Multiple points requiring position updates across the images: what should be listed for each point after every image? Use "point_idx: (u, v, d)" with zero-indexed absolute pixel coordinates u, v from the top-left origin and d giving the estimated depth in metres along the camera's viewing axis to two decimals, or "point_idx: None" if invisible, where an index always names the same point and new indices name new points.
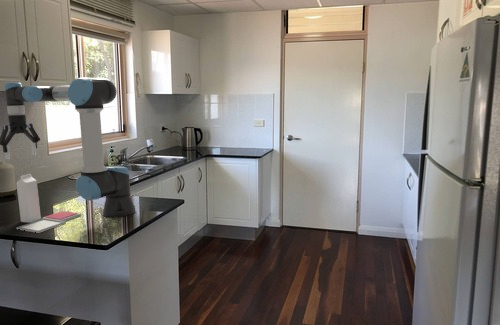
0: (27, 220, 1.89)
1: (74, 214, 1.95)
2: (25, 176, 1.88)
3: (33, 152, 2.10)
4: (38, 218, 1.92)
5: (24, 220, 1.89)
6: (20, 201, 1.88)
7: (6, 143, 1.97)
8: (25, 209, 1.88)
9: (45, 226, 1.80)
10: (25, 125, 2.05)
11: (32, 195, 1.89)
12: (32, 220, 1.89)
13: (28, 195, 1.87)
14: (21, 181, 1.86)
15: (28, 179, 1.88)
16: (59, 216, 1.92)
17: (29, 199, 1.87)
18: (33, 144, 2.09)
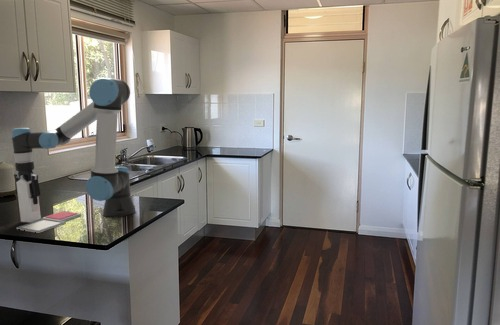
0: (27, 220, 1.89)
1: (74, 214, 1.95)
2: None
3: None
4: (38, 218, 1.92)
5: (24, 220, 1.89)
6: (20, 201, 1.88)
7: None
8: (25, 209, 1.88)
9: (45, 226, 1.80)
10: (28, 174, 1.86)
11: None
12: (32, 220, 1.89)
13: (28, 195, 1.87)
14: (21, 181, 1.86)
15: None
16: (59, 216, 1.92)
17: (29, 199, 1.87)
18: None
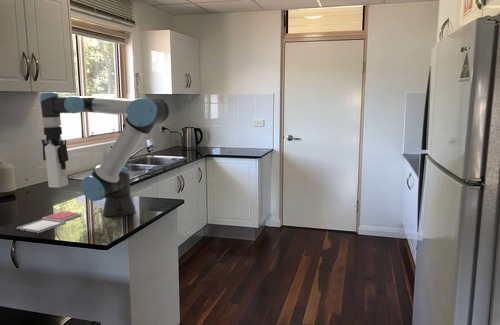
0: (55, 185, 1.89)
1: (74, 214, 1.95)
2: None
3: None
4: (65, 184, 1.92)
5: (52, 185, 1.89)
6: (48, 166, 1.88)
7: None
8: (53, 173, 1.88)
9: (45, 226, 1.80)
10: (56, 139, 1.86)
11: None
12: (60, 185, 1.89)
13: (56, 160, 1.87)
14: (49, 146, 1.86)
15: None
16: (59, 216, 1.92)
17: (57, 164, 1.87)
18: None
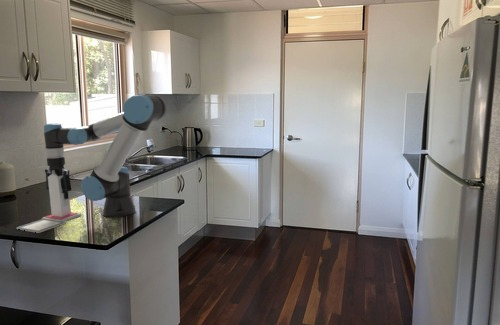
0: (58, 214, 1.91)
1: (74, 214, 1.95)
2: None
3: None
4: (68, 212, 1.95)
5: (55, 214, 1.92)
6: (51, 196, 1.91)
7: None
8: (56, 203, 1.90)
9: (45, 226, 1.80)
10: (59, 169, 1.88)
11: None
12: (63, 214, 1.91)
13: (59, 190, 1.89)
14: (52, 176, 1.89)
15: None
16: None
17: (60, 194, 1.90)
18: None
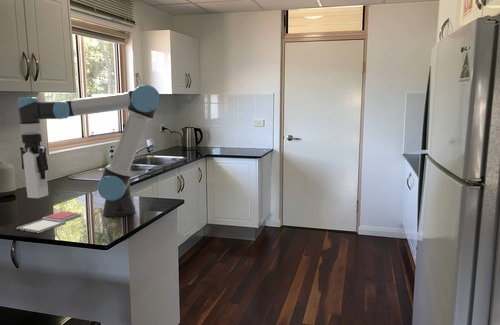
0: (34, 196, 1.77)
1: (74, 214, 1.95)
2: None
3: None
4: (46, 194, 1.81)
5: (31, 196, 1.78)
6: (27, 175, 1.77)
7: None
8: (32, 183, 1.76)
9: (45, 226, 1.80)
10: (35, 147, 1.74)
11: None
12: (39, 196, 1.77)
13: (35, 169, 1.75)
14: (28, 154, 1.75)
15: None
16: (59, 216, 1.92)
17: (36, 173, 1.76)
18: None
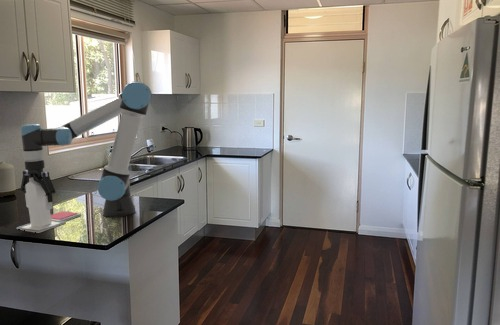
0: (37, 225, 1.79)
1: (74, 214, 1.95)
2: None
3: None
4: (49, 222, 1.83)
5: (34, 225, 1.80)
6: (30, 205, 1.79)
7: (24, 190, 1.82)
8: (35, 213, 1.78)
9: (45, 226, 1.80)
10: (38, 173, 1.76)
11: (42, 198, 1.79)
12: (42, 225, 1.80)
13: (37, 199, 1.77)
14: (30, 184, 1.77)
15: (37, 182, 1.78)
16: (59, 216, 1.92)
17: (39, 203, 1.78)
18: None
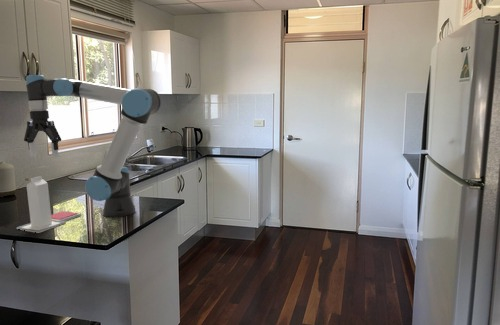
0: (37, 225, 1.79)
1: (74, 214, 1.95)
2: (36, 179, 1.79)
3: None
4: (49, 223, 1.83)
5: (34, 225, 1.80)
6: (30, 205, 1.79)
7: (28, 140, 1.88)
8: (36, 213, 1.78)
9: (45, 226, 1.80)
10: (43, 122, 1.83)
11: (43, 198, 1.79)
12: (43, 225, 1.80)
13: (38, 199, 1.77)
14: (31, 184, 1.77)
15: (39, 182, 1.79)
16: (59, 216, 1.92)
17: (40, 203, 1.78)
18: None
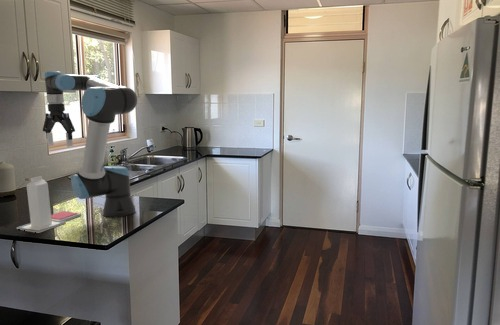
0: (37, 225, 1.79)
1: (74, 214, 1.95)
2: (36, 179, 1.79)
3: None
4: (49, 223, 1.83)
5: (34, 225, 1.80)
6: (30, 205, 1.79)
7: (46, 130, 2.07)
8: (36, 213, 1.78)
9: (45, 226, 1.80)
10: (59, 114, 2.01)
11: (43, 198, 1.79)
12: (43, 225, 1.80)
13: (38, 199, 1.77)
14: (31, 184, 1.77)
15: (39, 182, 1.79)
16: (59, 216, 1.92)
17: (40, 203, 1.78)
18: None
